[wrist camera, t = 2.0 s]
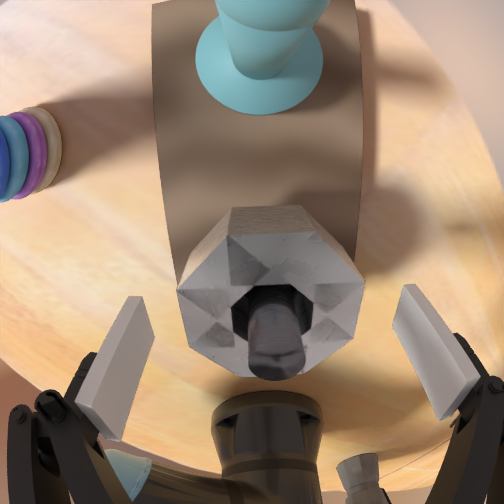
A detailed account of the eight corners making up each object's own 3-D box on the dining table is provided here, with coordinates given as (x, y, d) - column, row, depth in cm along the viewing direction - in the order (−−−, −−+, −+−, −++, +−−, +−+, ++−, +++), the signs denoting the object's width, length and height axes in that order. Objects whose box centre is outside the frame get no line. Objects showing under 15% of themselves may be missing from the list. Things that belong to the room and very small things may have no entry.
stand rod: (301, 280, 22) (332, 394, 12) (229, 283, 22) (218, 401, 13) (303, 211, 20) (353, 305, 10) (223, 214, 20) (199, 313, 10)
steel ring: (331, 328, 20) (345, 369, 16) (204, 334, 20) (197, 377, 16) (346, 203, 16) (372, 229, 12) (184, 209, 16) (165, 238, 12)
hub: (313, 115, 17) (438, 117, 5) (206, 118, 17) (113, 119, 5) (308, 21, 14) (395, -93, 2) (202, 23, 14) (131, -97, 2)
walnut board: (339, 304, 26) (345, 317, 24) (189, 311, 26) (186, 324, 24) (346, 7, 15) (354, -1, 13) (159, 12, 15) (152, 4, 13)
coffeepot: (320, 468, 45) (329, 540, 29) (353, 450, 42) (369, 529, 26) (365, 470, 49) (378, 530, 33) (396, 453, 46) (413, 516, 29)
